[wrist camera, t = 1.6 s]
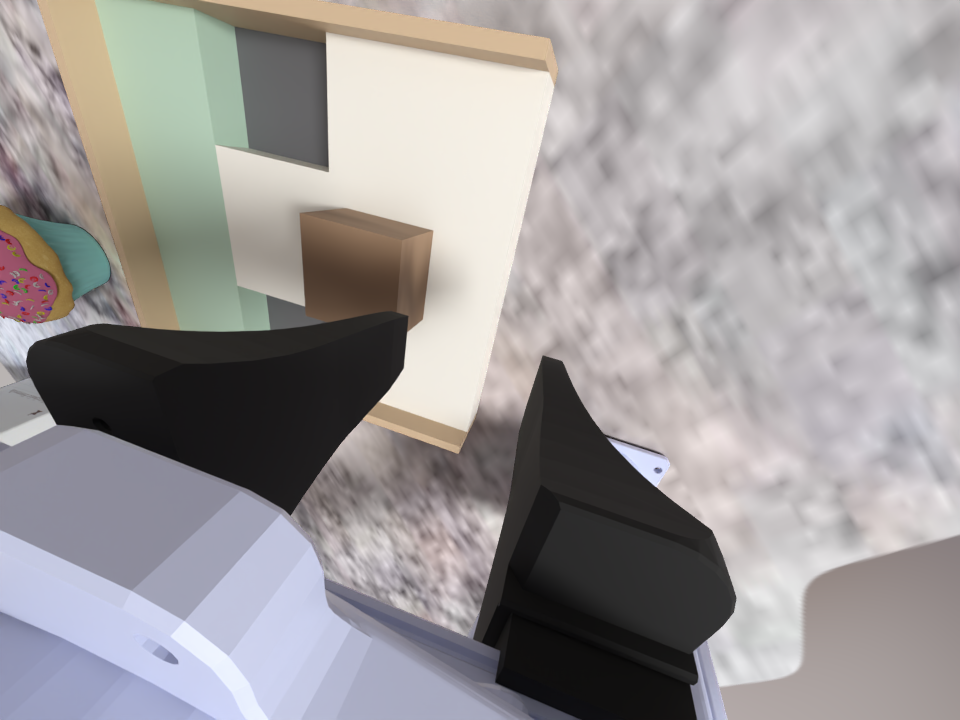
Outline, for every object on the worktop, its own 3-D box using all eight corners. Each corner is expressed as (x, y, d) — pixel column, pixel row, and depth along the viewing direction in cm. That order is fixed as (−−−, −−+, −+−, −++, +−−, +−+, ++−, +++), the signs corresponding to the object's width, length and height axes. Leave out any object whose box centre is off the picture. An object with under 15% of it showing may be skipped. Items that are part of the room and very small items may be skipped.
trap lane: (475, 417, 26) (456, 459, 22) (207, 327, 29) (148, 349, 25) (558, 70, 16) (548, 33, 12) (135, -5, 19) (20, -53, 15)
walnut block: (422, 319, 20) (394, 343, 17) (346, 296, 21) (305, 315, 18) (433, 230, 18) (402, 240, 15) (346, 207, 19) (299, 213, 16)
